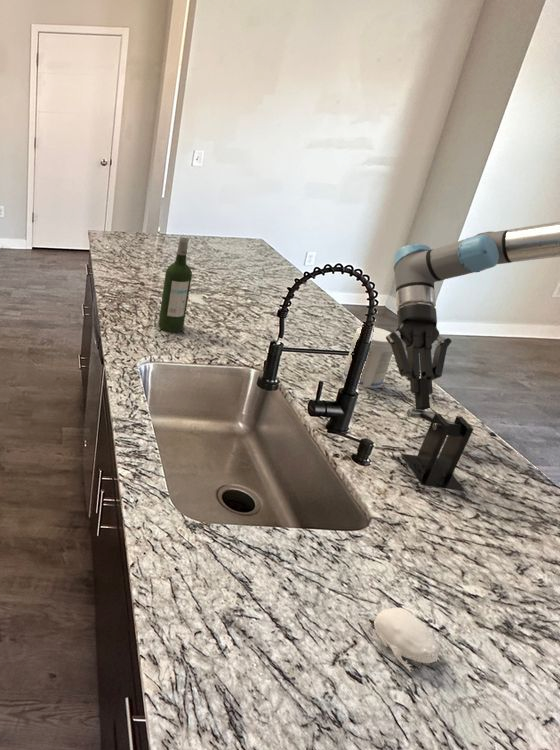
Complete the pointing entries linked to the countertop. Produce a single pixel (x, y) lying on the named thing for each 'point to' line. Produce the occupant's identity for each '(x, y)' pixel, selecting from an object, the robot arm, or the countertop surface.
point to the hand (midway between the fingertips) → (422, 408)
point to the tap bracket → (440, 468)
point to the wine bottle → (176, 291)
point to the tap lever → (428, 416)
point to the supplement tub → (373, 359)
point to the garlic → (406, 636)
